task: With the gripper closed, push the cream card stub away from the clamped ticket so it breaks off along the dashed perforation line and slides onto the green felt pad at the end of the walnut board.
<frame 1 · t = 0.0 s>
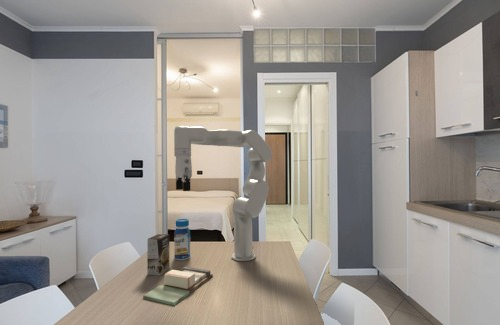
hand: (182, 190, 122), 37 cm above the table, tool pointing down, fingers open, 9 cm apart
beverage bottle: (182, 258, 139), on the table
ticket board: (180, 286, 106), on the table
stub: (179, 278, 105), point 3 cm above the table, slide at 0.0 cm
coffee box: (158, 271, 121), on the table
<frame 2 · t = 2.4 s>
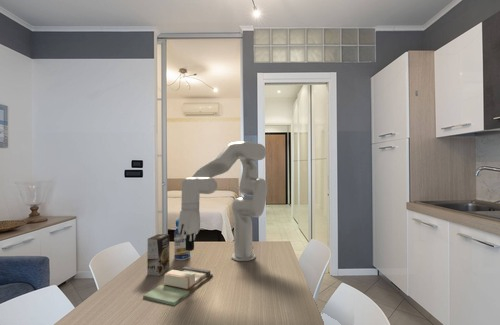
hand: (189, 249, 112), 13 cm above the table, tool pointing down, fingers closed
nothing on the table moved.
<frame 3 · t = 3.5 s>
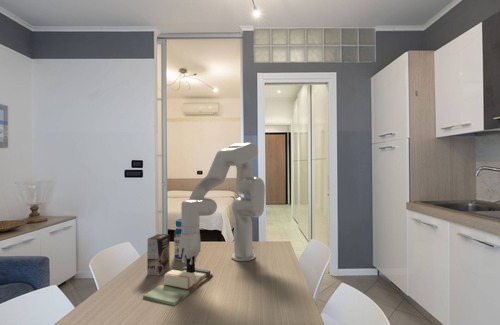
hand: (190, 272, 112), 3 cm above the table, tool pointing down, fingers closed
nothing on the table moved.
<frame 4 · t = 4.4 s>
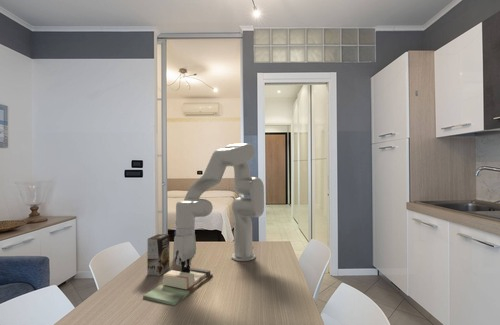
hand: (185, 275, 109), 3 cm above the table, tool pointing down, fingers closed
stub: (178, 279, 105), point 3 cm above the table, slide at 0.5 cm, touching gripper
everything else where it was.
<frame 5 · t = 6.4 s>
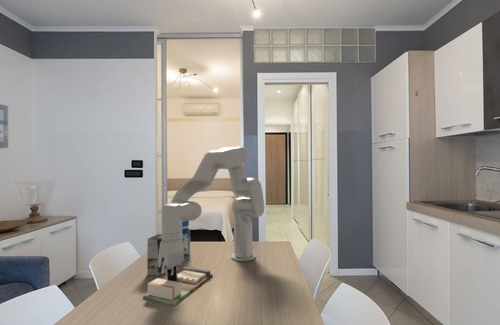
hand: (172, 284, 101), 3 cm above the table, tool pointing down, fingers closed
stub: (164, 288, 97), point 3 cm above the table, slide at 9.0 cm, touching gripper
everything else where it was.
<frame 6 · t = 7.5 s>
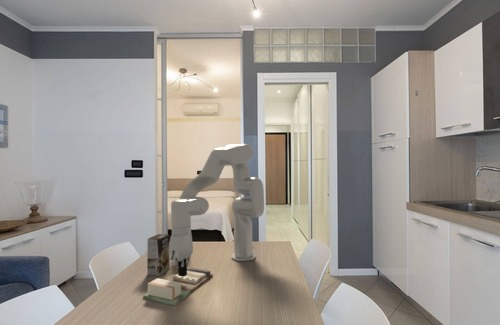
hand: (182, 275, 107), 4 cm above the table, tool pointing down, fingers closed
stub: (164, 288, 97), point 3 cm above the table, slide at 9.0 cm
everything else where it was.
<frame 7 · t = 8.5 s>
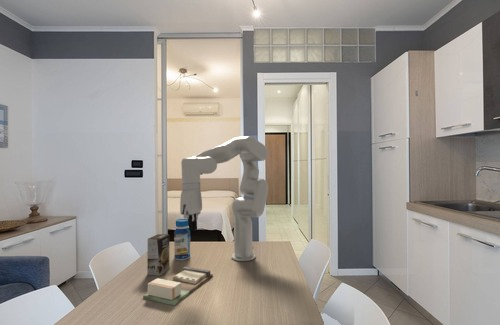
hand: (192, 229, 112), 21 cm above the table, tool pointing down, fingers closed
nothing on the table moved.
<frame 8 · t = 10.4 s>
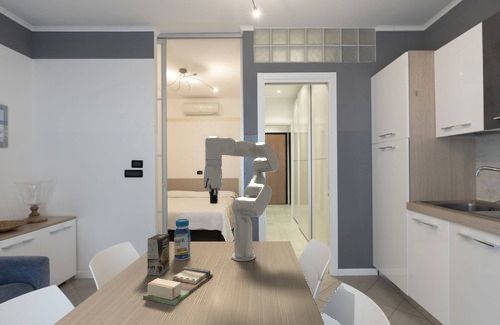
hand: (213, 203, 121), 31 cm above the table, tool pointing down, fingers closed
nothing on the table moved.
at the end: stub slide at 9.0 cm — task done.
